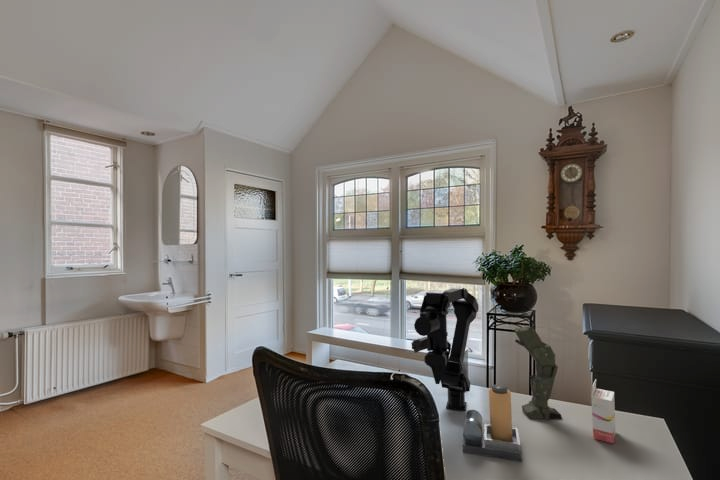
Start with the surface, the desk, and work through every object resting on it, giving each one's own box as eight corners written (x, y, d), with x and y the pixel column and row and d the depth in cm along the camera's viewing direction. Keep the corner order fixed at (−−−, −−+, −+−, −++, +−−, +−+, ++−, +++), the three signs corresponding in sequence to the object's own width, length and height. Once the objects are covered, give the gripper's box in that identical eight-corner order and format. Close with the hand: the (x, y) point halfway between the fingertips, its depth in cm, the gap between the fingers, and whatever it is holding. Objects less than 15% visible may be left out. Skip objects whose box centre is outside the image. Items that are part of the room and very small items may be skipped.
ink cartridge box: (614, 444, 97) (611, 390, 97) (592, 439, 100) (590, 386, 100) (616, 432, 103) (614, 381, 104) (596, 427, 106) (594, 377, 107)
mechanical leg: (565, 407, 118) (538, 320, 120) (575, 417, 111) (547, 324, 113) (523, 416, 119) (498, 329, 121) (531, 427, 112) (504, 334, 114)
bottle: (495, 432, 101) (493, 382, 102) (515, 438, 97) (513, 386, 98) (487, 439, 97) (485, 387, 97) (507, 447, 93) (505, 393, 94)
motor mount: (465, 431, 106) (464, 407, 106) (517, 438, 101) (516, 414, 101) (462, 452, 95) (461, 426, 95) (521, 461, 90) (520, 434, 90)
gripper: (418, 323, 126) (419, 367, 125) (407, 335, 108) (408, 386, 108) (450, 324, 122) (451, 370, 121) (444, 337, 105) (446, 390, 104)
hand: (439, 378), depth 114 cm, fingers open, 9 cm apart
